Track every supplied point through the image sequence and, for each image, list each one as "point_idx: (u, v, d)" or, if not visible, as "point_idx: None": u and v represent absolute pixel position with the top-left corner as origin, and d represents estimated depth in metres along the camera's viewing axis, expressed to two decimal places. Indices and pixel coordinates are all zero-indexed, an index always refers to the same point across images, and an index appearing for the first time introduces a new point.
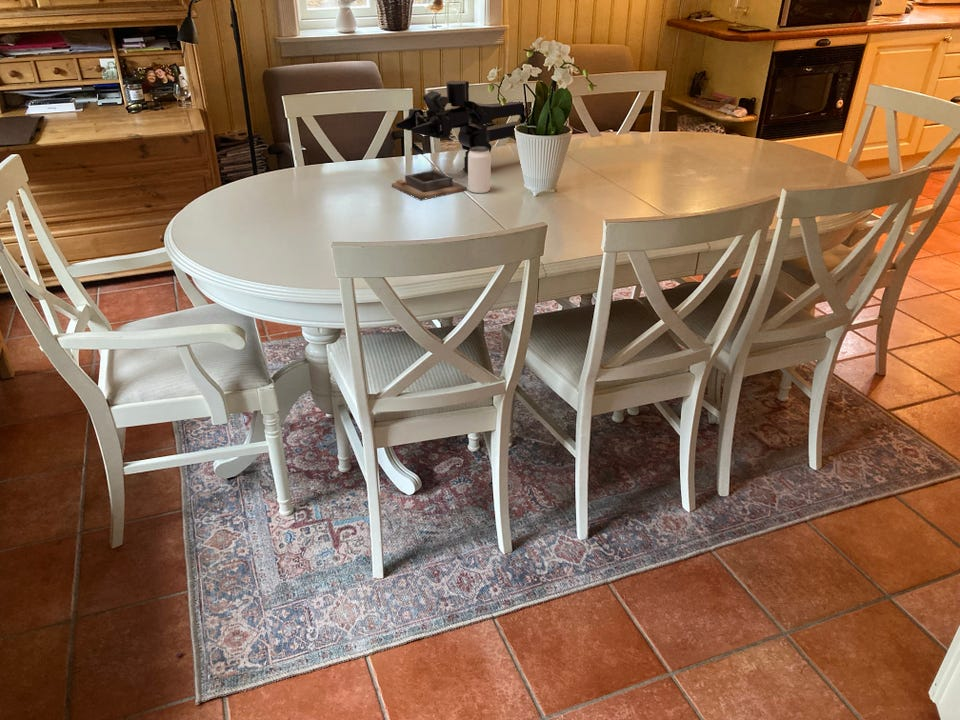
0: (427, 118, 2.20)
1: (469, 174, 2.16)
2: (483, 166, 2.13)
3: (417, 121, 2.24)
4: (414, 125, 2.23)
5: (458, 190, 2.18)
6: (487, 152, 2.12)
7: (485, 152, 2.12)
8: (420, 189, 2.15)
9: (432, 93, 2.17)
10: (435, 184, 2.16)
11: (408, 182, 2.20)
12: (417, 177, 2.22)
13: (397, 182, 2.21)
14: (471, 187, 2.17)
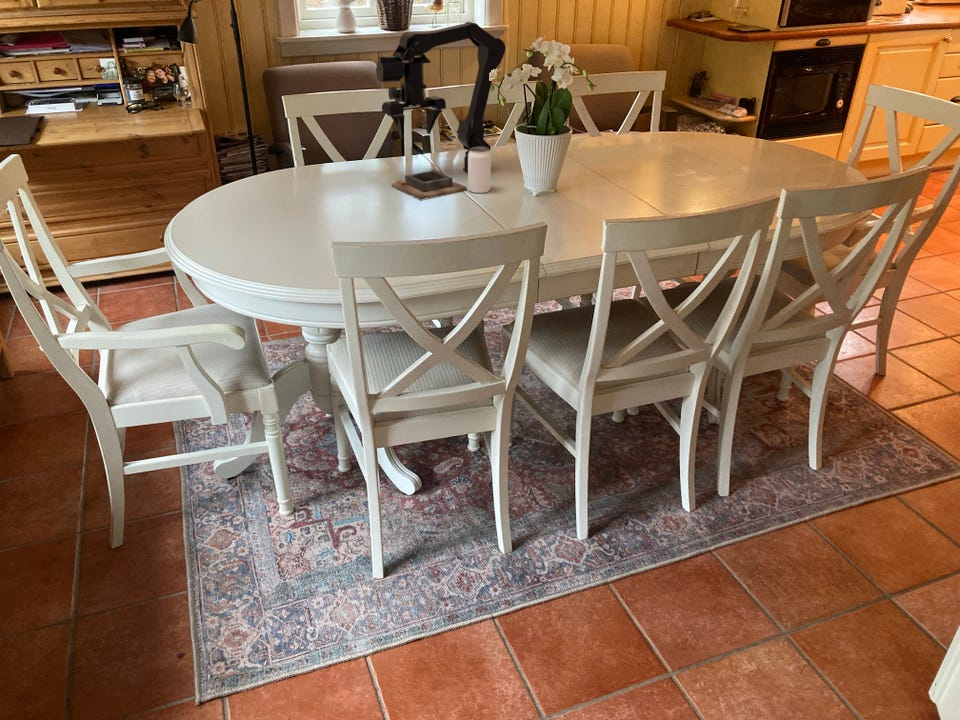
0: None
1: (469, 174, 2.16)
2: (483, 167, 2.13)
3: (429, 107, 2.21)
4: (431, 112, 2.21)
5: (458, 190, 2.18)
6: (487, 152, 2.12)
7: (485, 152, 2.12)
8: (420, 189, 2.15)
9: None
10: (435, 184, 2.16)
11: (408, 182, 2.20)
12: (417, 177, 2.22)
13: (397, 182, 2.21)
14: (471, 187, 2.17)
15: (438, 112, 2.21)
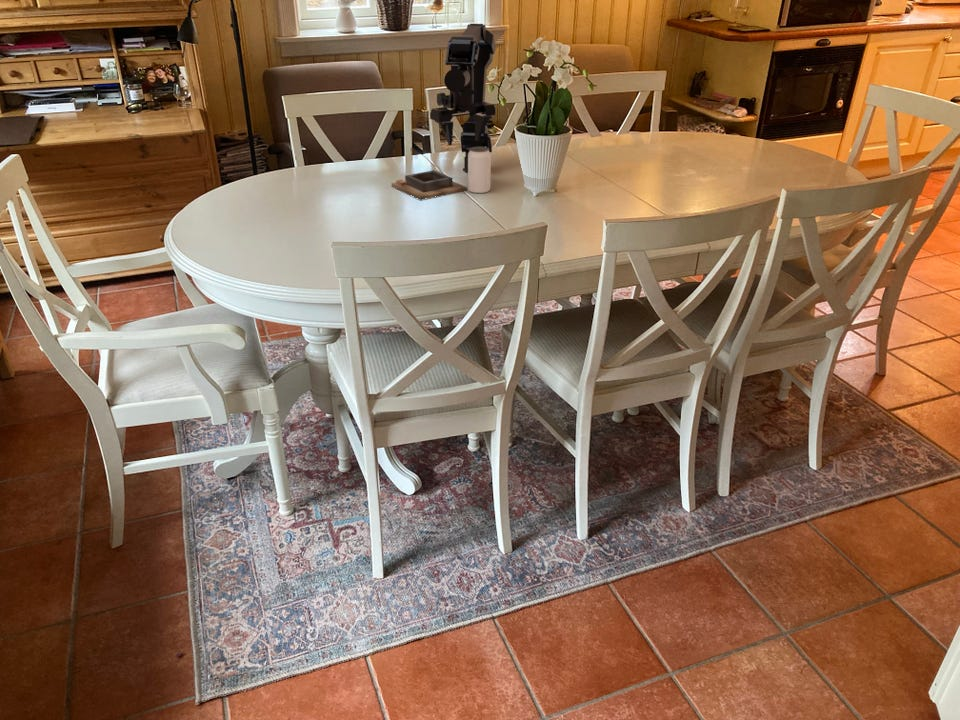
0: None
1: (469, 174, 2.16)
2: (483, 166, 2.13)
3: (479, 113, 2.14)
4: (480, 118, 2.13)
5: (458, 190, 2.18)
6: (487, 152, 2.12)
7: (485, 152, 2.12)
8: (420, 189, 2.15)
9: None
10: (435, 184, 2.16)
11: (408, 182, 2.20)
12: (417, 177, 2.22)
13: (397, 182, 2.21)
14: (471, 187, 2.17)
15: (488, 119, 2.13)
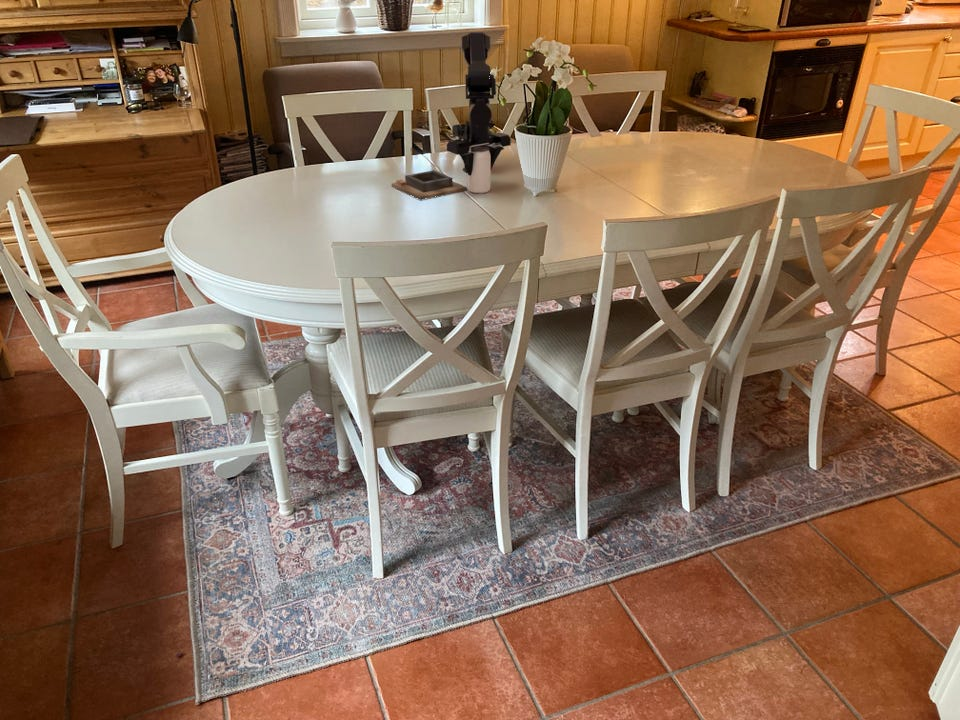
0: None
1: None
2: (483, 167, 2.13)
3: (490, 144, 2.15)
4: (492, 149, 2.15)
5: (458, 190, 2.18)
6: (487, 152, 2.12)
7: (485, 152, 2.12)
8: (420, 189, 2.15)
9: None
10: (435, 184, 2.16)
11: (408, 182, 2.20)
12: (417, 177, 2.22)
13: (397, 182, 2.21)
14: (471, 187, 2.17)
15: (500, 150, 2.14)
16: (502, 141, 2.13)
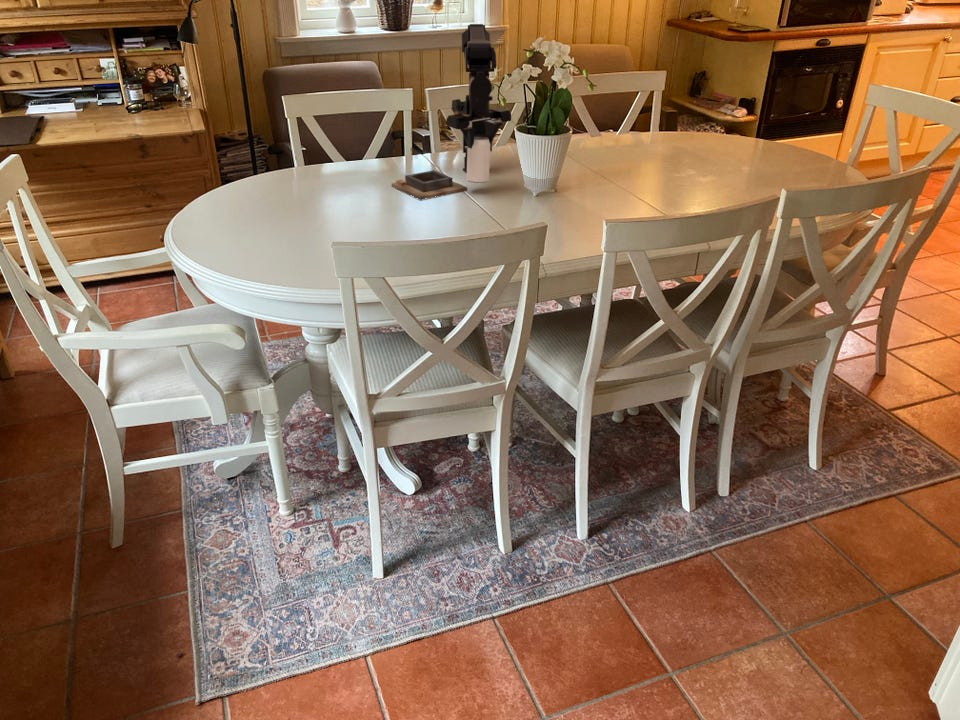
0: None
1: (469, 163, 2.13)
2: (484, 155, 2.11)
3: (489, 120, 2.11)
4: (491, 125, 2.11)
5: (458, 190, 2.18)
6: (488, 141, 2.11)
7: (486, 140, 2.10)
8: (420, 189, 2.15)
9: None
10: (435, 184, 2.16)
11: (408, 182, 2.20)
12: (417, 177, 2.22)
13: (397, 182, 2.21)
14: (470, 176, 2.14)
15: (499, 125, 2.11)
16: (502, 116, 2.10)
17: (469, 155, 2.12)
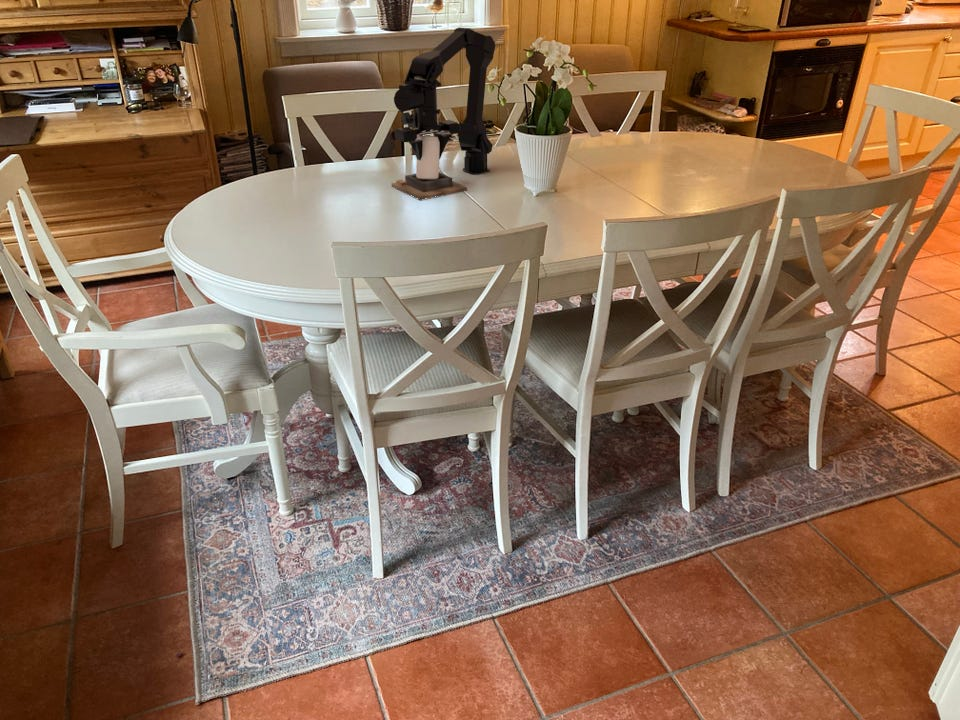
0: None
1: (418, 160, 2.15)
2: (433, 152, 2.13)
3: (439, 132, 2.15)
4: (440, 137, 2.15)
5: (458, 190, 2.18)
6: (437, 138, 2.14)
7: (435, 137, 2.13)
8: (420, 189, 2.15)
9: None
10: (435, 184, 2.16)
11: (408, 182, 2.20)
12: None
13: (397, 182, 2.21)
14: (419, 173, 2.15)
15: (448, 137, 2.14)
16: (451, 129, 2.13)
17: None
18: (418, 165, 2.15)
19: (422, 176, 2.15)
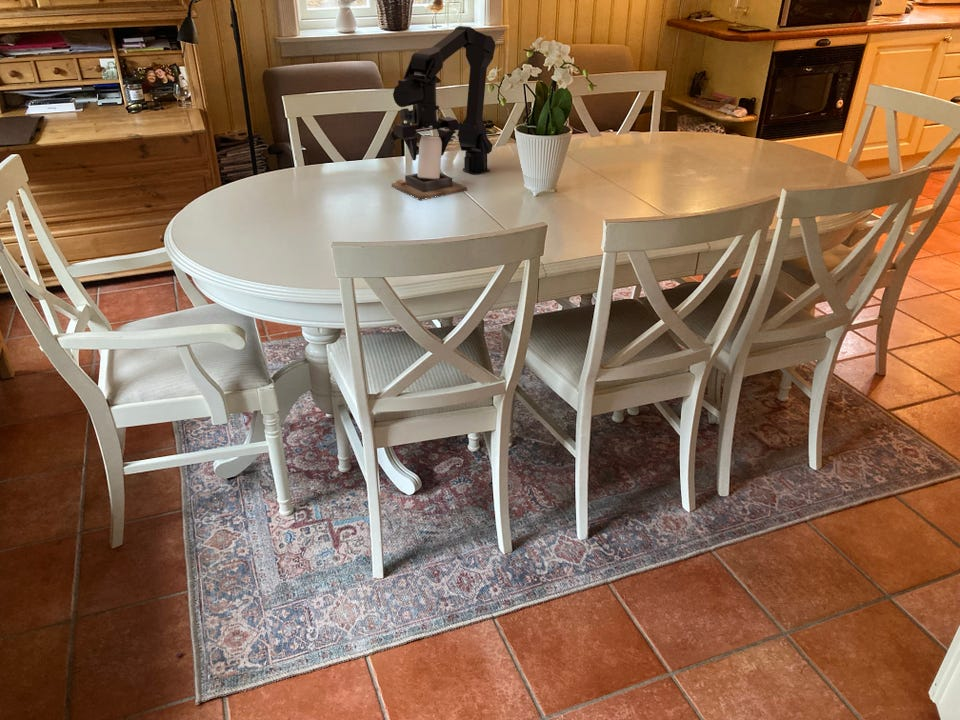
0: None
1: (419, 159, 2.16)
2: (434, 151, 2.14)
3: (442, 128, 2.15)
4: (444, 133, 2.15)
5: (458, 190, 2.18)
6: (439, 138, 2.15)
7: (437, 137, 2.14)
8: (420, 189, 2.15)
9: None
10: (435, 184, 2.16)
11: (408, 182, 2.20)
12: (417, 177, 2.22)
13: (397, 182, 2.21)
14: (420, 172, 2.16)
15: (451, 133, 2.14)
16: (450, 125, 2.13)
17: (420, 151, 2.15)
18: (419, 164, 2.16)
19: (422, 175, 2.16)
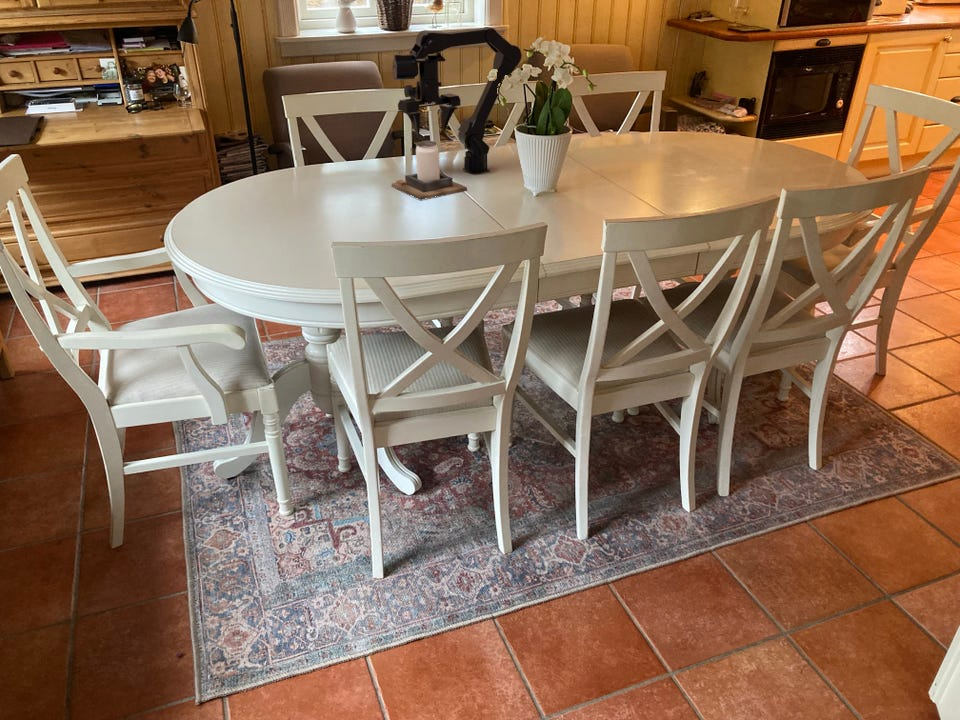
0: None
1: (417, 168, 2.17)
2: (429, 162, 2.14)
3: (444, 104, 2.25)
4: (446, 109, 2.25)
5: (458, 190, 2.18)
6: (433, 147, 2.13)
7: (430, 147, 2.12)
8: (420, 189, 2.15)
9: None
10: (435, 184, 2.16)
11: (408, 182, 2.20)
12: (417, 177, 2.22)
13: (397, 182, 2.21)
14: None
15: (453, 109, 2.24)
16: (452, 101, 2.23)
17: (416, 161, 2.16)
18: (417, 173, 2.18)
19: None
